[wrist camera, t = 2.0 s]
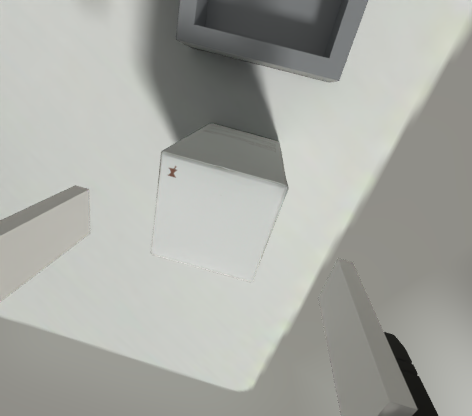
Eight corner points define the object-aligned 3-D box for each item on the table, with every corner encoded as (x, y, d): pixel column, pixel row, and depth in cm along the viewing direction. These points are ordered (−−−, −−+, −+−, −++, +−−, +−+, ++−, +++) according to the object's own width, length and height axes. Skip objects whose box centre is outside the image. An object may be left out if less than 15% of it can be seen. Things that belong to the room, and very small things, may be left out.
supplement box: (196, 189, 28) (144, 255, 17) (209, 120, 25) (157, 146, 14) (261, 207, 28) (252, 287, 17) (283, 141, 25) (291, 184, 14)
